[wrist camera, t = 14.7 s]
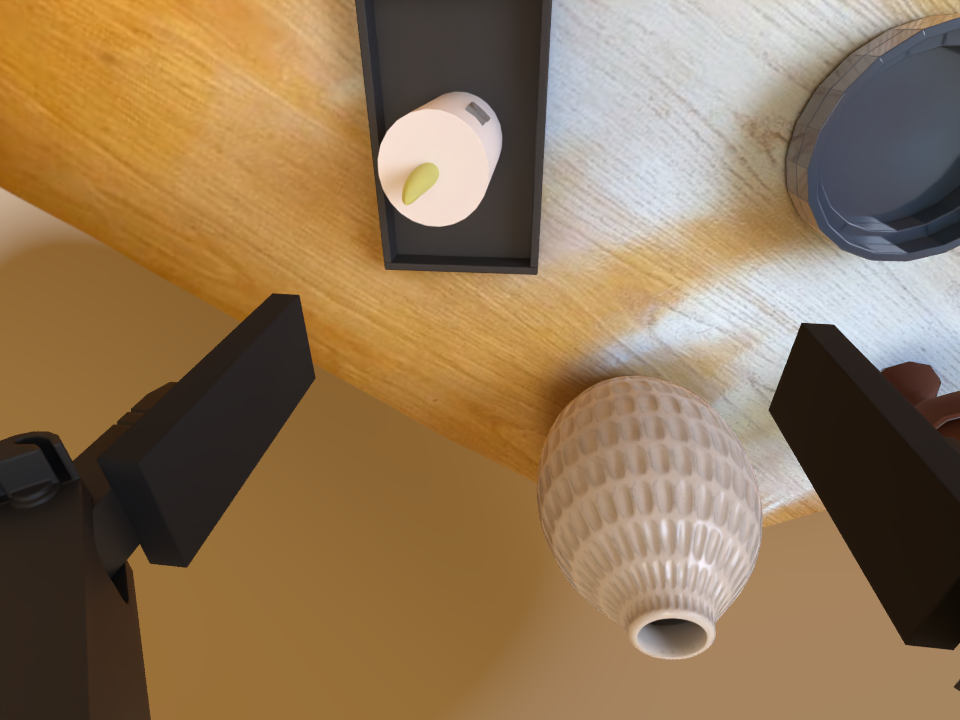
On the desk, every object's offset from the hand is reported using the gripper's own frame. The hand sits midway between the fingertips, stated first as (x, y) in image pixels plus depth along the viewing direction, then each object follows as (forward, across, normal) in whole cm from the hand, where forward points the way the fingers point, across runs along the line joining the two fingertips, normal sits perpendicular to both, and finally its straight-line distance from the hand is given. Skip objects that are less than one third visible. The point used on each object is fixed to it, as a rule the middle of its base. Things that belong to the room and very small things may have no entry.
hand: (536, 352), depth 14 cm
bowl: (+29, +24, +1) cm, 37 cm away
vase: (+29, +9, -23) cm, 38 cm away
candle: (+28, -6, +1) cm, 29 cm away
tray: (+28, -6, +1) cm, 29 cm away
